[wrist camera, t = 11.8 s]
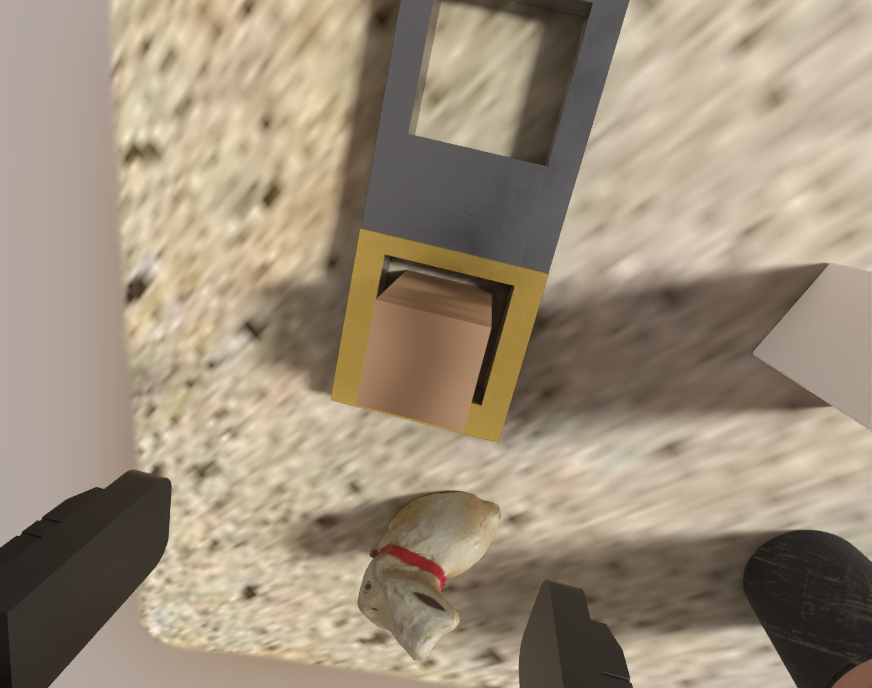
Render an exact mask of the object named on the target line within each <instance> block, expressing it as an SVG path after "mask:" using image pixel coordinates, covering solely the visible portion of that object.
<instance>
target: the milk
mask: <svg viewBox="0 0 872 688" xmlns="http://www.w3.org/2000/svg"><path fill="white" fill-rule="evenodd" d="M753 355H754V356H756V357H757V358H759V359H760V360H762V361H763V362H765V363H767V364H768V365H770V366H771V367H773V368H774V369H776V370H777V371H779V372H780V373H782V374H784V375H785V376H787V377H788V378H790V379H791V380H793V381H794V382H796V383H797V384H799V385H801V386H802V387H804V388H805V389H807V390H808V391H810V392H811V393H813V394H814V395H816V396H818V397H819V398H821V399H822V400H824V401H825V402H827V403H828V404H830V405H832V406H833V407H835V408H836V409H838V410H839V411H841V412H842V413H844V414H845V415H847V416H849V417H850V418H852V419H853V420H855V421H856V422H858V423H859V424H861V425H862V426H864V427H866V428H867V429H869V430H870V431H872V271H867V270H863V269H858V268H854V267H849V266H845V265H840V264H836V263H830V264H829V265H828V266H827V267H826V268H825V269H824V271H823V272H822V273H821V274H820V275H819V276H818V278H817V279H816V280H815V281H814V282H813V283H812V284H811V286H810V287H809V288H808V289H807V290H806V291H805V292H804V294H803V295H802V296H801V297H800V298H799V299H798V301H797V302H796V303H795V304H794V305H793V306H792V307H791V309H790V310H789V311H788V312H787V313H786V314H785V315H784V317H783V318H782V319H781V320H780V321H779V322H778V324H777V325H776V326H775V327H774V328H773V329H772V330H771V332H770V333H769V334H768V335H767V336H766V337H765V338H764V340H763V341H762V342H761V343H760V344H759V345H758V347H757V348H756V349H755V350H754V351H753Z"/></svg>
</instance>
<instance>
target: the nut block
mask: <svg viewBox="0 0 872 688" xmlns="http://www.w3.org/2000/svg"><path fill="white" fill-rule="evenodd" d="M491 326H492V290H488V289H484V288H480V287H475V286H471V285H467V284H463V283H459V282H455V281H451V280H446V279H442V278H438V277H434V276H430V275H426V274H422V273H418V272H413V271H409V270H406V271H405V272H404V273H403V274H402V275H401V276H400V277H399V278H398V279H397V280H396V281H395V282H394V283H393V284H391V285H390V286H389V287H388V288H387V289H386V290H385V291H384V292H383V293H382V294H381V295H380V296H379V297H378V298H377V299H376V301H375V306H374V312H373V317H372V322H371V327H370V333H369V338H368V343H367V349H366V354H365V359H364V365H363V370H362V375H361V381H360V386H359V391H358V396H357V402H356V405H359V406H363V407H366V408H370V409H374V410H378V411H382V412H386V413H390V414H394V415H398V416H402V417H406V418H410V419H414V420H418V421H422V422H426V423H430V424H434V425H438V426H442V427H446V428H450V429H453V430H457V431H461V432H464V428H465V425H466V421H467V417H468V413H469V410H470V406H471V402H472V398H473V395H474V391H475V387H476V384H477V380H478V376H479V372H480V369H481V365H482V361H483V357H484V354H485V350H486V346H487V343H488V339H489V335H490V331H491Z"/></svg>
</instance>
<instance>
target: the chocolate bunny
mask: <svg viewBox="0 0 872 688" xmlns="http://www.w3.org/2000/svg"><path fill="white" fill-rule="evenodd" d="M500 517H501V515H500V510H499V506H498V505H496V504H494V503H489V502H485V501H483V500H481V499H479V498H478V497H476V496H475V495H471V494H468V493H465V492H459V491H458V492H452V493H442V494H440V493H433V494H432V495H426V496H424V497H421V498H417V499H415V500H412V501H411V502H410V503H409V504H408V505H406V507H405V508H403V509H401V510H400V511H399V512H397V513H396V515H395V516H394V518H393V519H392V520H391V522H390V523H389V526H388V530H387V533H386V534H385V535H384V536H383V538H382V540H381V541H380V543H379V545H378V546H377V547H374V548H373V549H372V550H371V552H370V557H373V558H374V559H373V560H372V561H371V562H370V564H369V566H368V568H367V569H366V571H365V574H364V577H363V581H362V585H361V588H360V592H359V597H358V607H359V609H360V611H361V612H362V613H363V615H365V616H366V617H367V618H368V619H369V620H370V621H371V622H373V623H374V624H375V625H377V626H378V627H381V628H383V629H386V630H389V631H390V632H392V634H393V635H394V637H395V638H396V640H397V641H398V642H399V643H400V645H401V646H402V647H403V648H404V649H405V650H406V651H407V652H408V654H409V655H410V656H411V657H412V658H413V659H414V660H417V661H420V660H423V659H424V658H426V656H427V655H428V654H429V652H430V651H431V650H432V648H433V647H434V645H435V644H436V643H437V641H438V640H439V639H440V638H441V637H442V636H443V635H445V634H447V633H448V632H450V631H452V630H453V629H455V628H456V626H457V625H458V624H459V622H460V621H461V620H460V616H459V613H458V611H457V610H456V609H454V608H453V607H452V606H451V605H450V604H449V602H448V601H447V600H446V598H445V596H444V595H443V593H442V592H441V591H442V590H443V588H444V585H445V581H446V580H447V579H450V578H452V577H455V576H457V575H459V574H461V573H463V572H465V571H466V570H468V569H469V568H471V567H472V566H473V565H474V564H476V563H477V562H478V561H479V560H480V559H481V557H482V556H483V555H484V553H485V552H486V550H487V548H488V546H489V544H490V542H491V540H492V538H493V535H494V533H495V531H496V529H497V527H498V525H499V522H500Z"/></svg>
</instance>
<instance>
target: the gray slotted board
mask: <svg viewBox="0 0 872 688" xmlns="http://www.w3.org/2000/svg"><path fill="white" fill-rule="evenodd" d="M510 1H515V2H519V3H524V4H528V5H533V6H537V7H542V8H546V9H551V10H555V11H560V12H564V13H569V14H573V15H578V16H582V17H585V20H584V24H583V28H582V31H581V35H580V39H579V42H578V46H577V49H576V53H575V57H574V60H573V64H572V68H571V71H570V75H569V78H568V82H567V86H566V89H565V93H564V97H563V100H562V104H561V107H560V111H559V115H558V118H557V122H556V126H555V129H554V133H553V137H552V140H551V144H550V147H549V151H548V155H547V158H546V162H545V166H544V165H539V164H535V163H531V162H527V161H522V160H518V159H514V158H509V157H505V156H501V155H497V154H492V153H488V152H484V151H480V150H475V149H471V148H467V147H462V146H458V145H454V144H450V143H445V142H441V141H437V140H432V139H428V138H424V137H420V136H415V131H416V126H417V121H418V116H419V111H420V106H421V100H422V95H423V90H424V85H425V80H426V75H427V70H428V64H429V59H430V54H431V49H432V44H433V39H434V34H435V29H436V23H437V18H438V13H439V8H440V3H441V0H400V6H399V12H398V18H397V23H396V29H395V35H394V41H393V47H392V52H391V58H390V64H389V70H388V76H387V81H386V87H385V93H384V99H383V104H382V110H381V116H380V122H379V128H378V133H377V139H376V145H375V151H374V157H373V162H372V168H371V174H370V180H369V186H368V191H367V197H366V203H365V209H364V215H363V220H362V226H361V228H360V232H359V238H358V244H357V250H356V256H355V262H354V267H353V273H352V279H351V285H350V291H349V296H348V302H347V308H346V314H345V320H344V325H343V331H342V337H341V343H340V349H339V355H338V360H337V366H336V372H335V378H334V384H333V389H332V395H331V400H332V401H336V402H340V403H344V404H348V405H351V406H355V407H359V408H363V409H367V410H371V411H375V412H379V413H383V414H387V415H391V416H395V417H399V418H402V419H406V420H410V421H414V422H418V423H422V424H426V425H430V426H434V427H438V428H442V429H446V430H450V431H454V432H457V433H461V434H465V435H469V436H473V437H477V438H481V439H485V440H489V441H493V442H497V443H499V440H500V436H501V433H502V430H503V426H504V423H505V419H506V416H507V413H508V409H509V406H510V403H511V399H512V396H513V393H514V389H515V386H516V382H517V379H518V376H519V372H520V369H521V366H522V362H523V359H524V356H525V352H526V349H527V345H528V342H529V339H530V335H531V332H532V329H533V325H534V322H535V319H536V315H537V312H538V308H539V305H540V302H541V298H542V295H543V292H544V288H545V285H546V282H547V278H548V275H549V274H548V273H549V269H550V266H551V263H552V259H553V256H554V253H555V249H556V246H557V243H558V239H559V236H560V232H561V229H562V226H563V222H564V219H565V216H566V212H567V209H568V205H569V202H570V199H571V195H572V192H573V189H574V185H575V182H576V179H577V175H578V172H579V168H580V165H581V162H582V158H583V155H584V152H585V148H586V145H587V142H588V138H589V135H590V131H591V128H592V125H593V121H594V118H595V115H596V111H597V108H598V104H599V101H600V98H601V94H602V91H603V88H604V84H605V81H606V78H607V74H608V71H609V67H610V64H611V61H612V57H613V54H614V51H615V47H616V44H617V40H618V37H619V34H620V30H621V27H622V24H623V20H624V17H625V14H626V10H627V7H628V3H629V0H510ZM391 256H394V257H398V258H402V259H406V260H410V261H414V262H418V263H423V264H427V265H431V266H435V267H439V268H443V269H447V270H451V271H456V272H460V273H464V274H468V275H472V276H476V277H480V278H484V279H488V280H493V281H497V282H501V283H505V284H509V285H511V289H510V293H509V296H508V300H507V304H506V307H505V311H504V314H503V318H502V322H501V325H500V329H499V333H498V336H497V340H496V343H495V347H494V351H493V354H492V358H491V362H490V365H489V369H488V372H487V376H486V380H485V383H484V387H483V391H482V390H478V389H475V391H474V395H473V398H472V402H471V406H470V410H469V413H468V417H467V421H466V425H465V428H464V432H461V431H457V430H453V429H450V428H446V427H442V426H438V425H434V424H430V423H426V422H422V421H418V420H414V419H410V418H406V417H402V416H398V415H394V414H390V413H386V412H382V411H378V410H374V409H370V408H366V407H363V406H359V405H356V402H357V396H358V391H359V386H360V381H361V375H362V370H363V365H364V359H365V354H366V349H367V343H368V338H369V333H370V327H371V322H372V317H373V312H374V306H375V301H376V299H377V298H378V297H379V296H380V295H381V294H382V293H383V292H384V291H385V285H386V280H387V275H388V270H389V265H390V260H391Z"/></svg>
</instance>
